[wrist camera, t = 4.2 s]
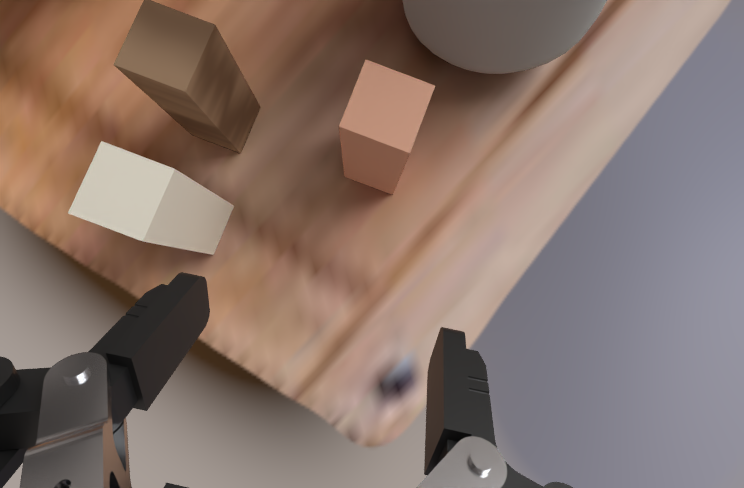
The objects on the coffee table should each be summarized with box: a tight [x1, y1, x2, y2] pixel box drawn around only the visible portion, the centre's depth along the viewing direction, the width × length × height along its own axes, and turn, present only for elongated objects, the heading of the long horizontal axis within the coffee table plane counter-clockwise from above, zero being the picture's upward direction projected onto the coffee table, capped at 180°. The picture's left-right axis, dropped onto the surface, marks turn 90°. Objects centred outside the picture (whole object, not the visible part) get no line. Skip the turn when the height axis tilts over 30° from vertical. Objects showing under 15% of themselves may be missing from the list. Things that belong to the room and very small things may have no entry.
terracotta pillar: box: [339, 60, 435, 195], centre depth 26 cm, size 4×4×10 cm
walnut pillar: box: [114, 0, 260, 153], centre depth 26 cm, size 4×4×10 cm
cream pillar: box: [68, 141, 234, 255], centre depth 25 cm, size 4×4×10 cm
